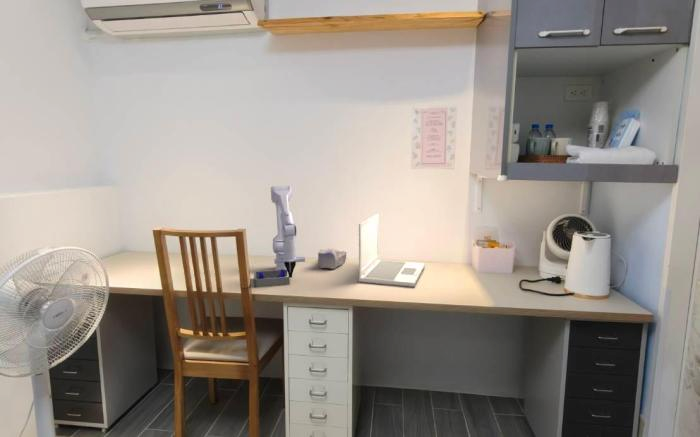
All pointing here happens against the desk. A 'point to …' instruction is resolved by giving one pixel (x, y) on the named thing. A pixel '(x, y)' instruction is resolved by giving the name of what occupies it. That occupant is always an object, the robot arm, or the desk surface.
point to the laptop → (382, 269)
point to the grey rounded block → (331, 258)
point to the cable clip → (282, 274)
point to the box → (271, 281)
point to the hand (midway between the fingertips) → (290, 277)
